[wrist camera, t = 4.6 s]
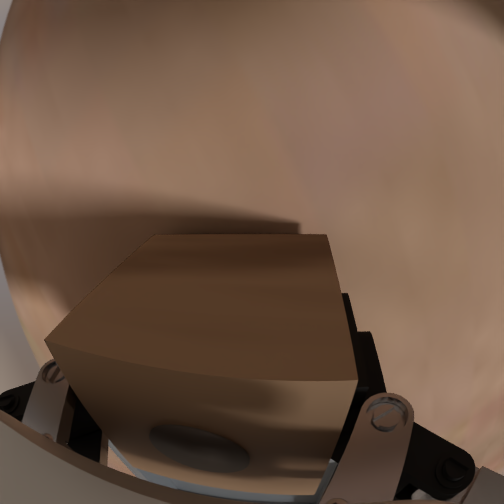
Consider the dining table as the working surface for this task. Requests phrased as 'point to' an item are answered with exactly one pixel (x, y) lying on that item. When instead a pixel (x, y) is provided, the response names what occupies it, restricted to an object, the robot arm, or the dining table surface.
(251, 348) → the walnut block
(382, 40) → the dining table surface
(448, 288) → the dining table surface
